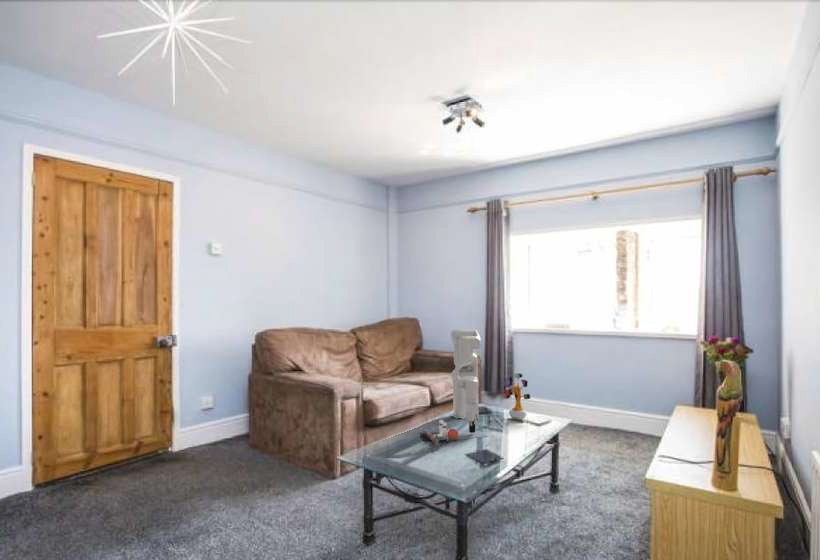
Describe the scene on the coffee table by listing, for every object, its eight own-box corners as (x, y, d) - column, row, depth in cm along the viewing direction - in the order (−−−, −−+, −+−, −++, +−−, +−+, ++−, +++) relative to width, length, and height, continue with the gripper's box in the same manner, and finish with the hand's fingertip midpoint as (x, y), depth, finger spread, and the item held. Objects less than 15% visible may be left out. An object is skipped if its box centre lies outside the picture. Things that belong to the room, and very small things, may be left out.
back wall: (424, 434, 257) (424, 429, 257) (426, 433, 257) (426, 429, 257) (435, 445, 238) (435, 440, 238) (438, 444, 238) (438, 440, 238)
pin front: (446, 436, 252) (432, 438, 249) (446, 432, 252) (432, 433, 249) (448, 438, 249) (433, 439, 246) (448, 433, 249) (433, 435, 246)
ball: (443, 433, 246) (451, 425, 247) (447, 436, 250) (454, 428, 251) (451, 440, 242) (458, 432, 243) (454, 443, 247) (461, 435, 248)
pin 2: (441, 438, 248) (441, 422, 248) (445, 438, 249) (445, 422, 249) (443, 440, 246) (443, 423, 246) (447, 439, 246) (447, 423, 247)
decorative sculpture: (500, 417, 291) (500, 371, 293) (508, 415, 296) (508, 370, 297) (525, 424, 275) (524, 376, 277) (533, 421, 280) (532, 374, 281)
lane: (431, 435, 253) (431, 435, 253) (479, 430, 262) (479, 430, 262) (438, 441, 243) (438, 441, 243) (487, 436, 252) (487, 436, 252)
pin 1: (438, 436, 253) (438, 420, 253) (442, 435, 254) (442, 420, 254) (440, 437, 250) (440, 421, 251) (444, 437, 251) (444, 421, 251)
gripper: (460, 398, 262) (461, 429, 261) (471, 403, 247) (471, 436, 247) (472, 397, 264) (472, 428, 263) (483, 402, 250) (483, 435, 249)
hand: (472, 432), depth 255 cm, fingers closed
